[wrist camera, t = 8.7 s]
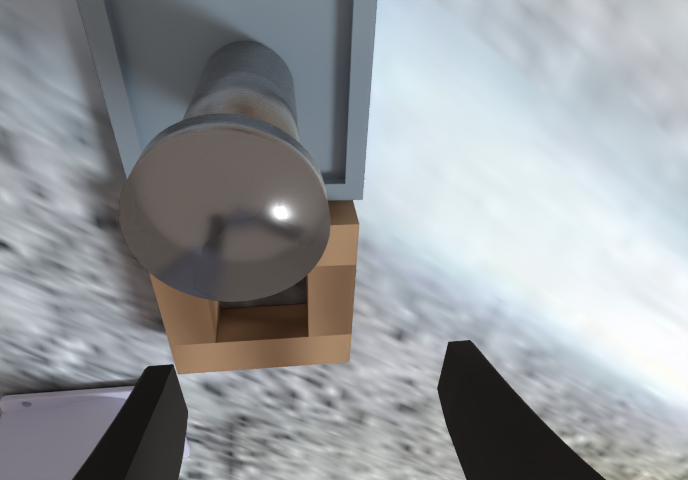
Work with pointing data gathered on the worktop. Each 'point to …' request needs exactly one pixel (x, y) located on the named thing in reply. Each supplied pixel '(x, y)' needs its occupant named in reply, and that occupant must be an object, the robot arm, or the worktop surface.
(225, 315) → the socket block
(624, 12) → the worktop surface
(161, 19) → the dish
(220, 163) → the pin
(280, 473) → the worktop surface
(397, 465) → the worktop surface
